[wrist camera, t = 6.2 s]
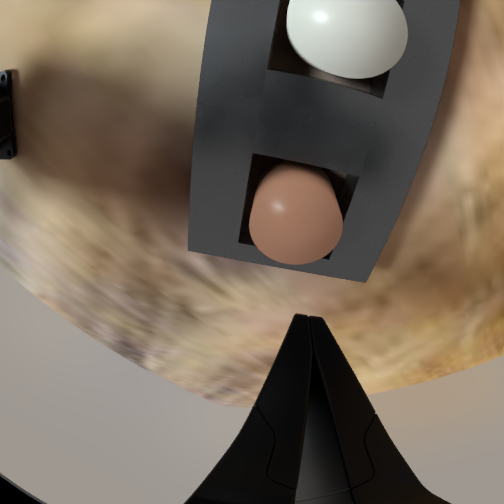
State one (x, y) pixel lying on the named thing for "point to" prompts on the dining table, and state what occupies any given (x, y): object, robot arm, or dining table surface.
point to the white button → (348, 35)
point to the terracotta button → (295, 214)
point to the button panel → (311, 131)
